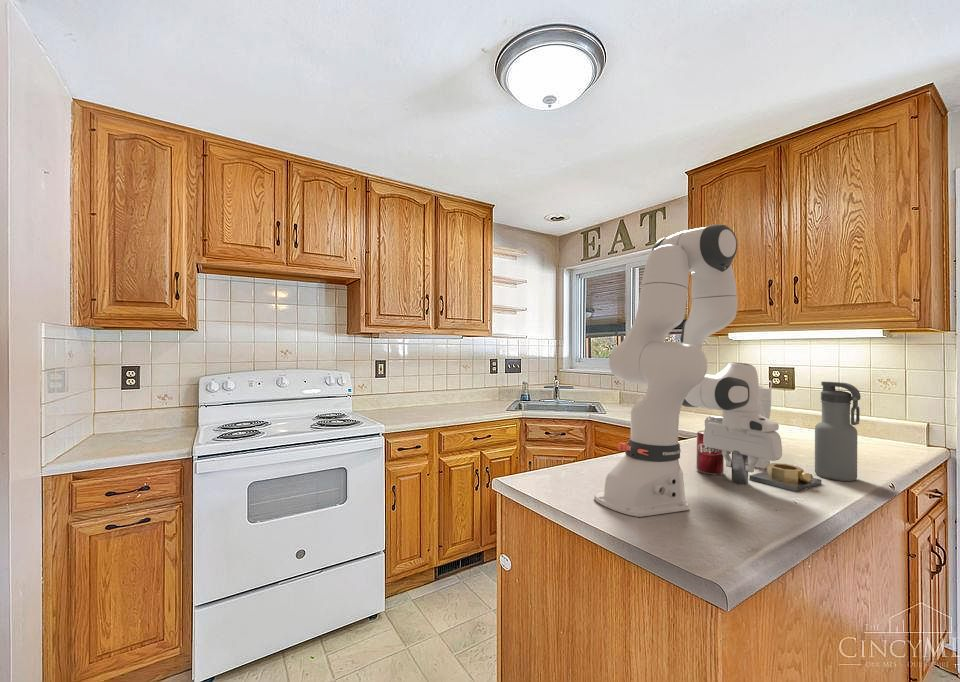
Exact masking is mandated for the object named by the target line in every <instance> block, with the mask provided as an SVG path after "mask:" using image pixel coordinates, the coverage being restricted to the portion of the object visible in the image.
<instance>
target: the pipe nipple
mask: <svg viewBox="0 0 960 682" xmlns="http://www.w3.org/2000/svg"><path fill="white" fill-rule="evenodd" d="M731 460H732V468H731V483H733V484H736V485H737V484H738V485H748V484H749V472H747V471H745V469H746V468H745V465H748V456H747V455H743V454H740V452H739V451H734V450H733V452H731Z"/></svg>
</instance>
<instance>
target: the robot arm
mask: <svg viewBox="0 0 960 682" xmlns="http://www.w3.org/2000/svg"><path fill="white" fill-rule="evenodd" d="M737 251H738V239H737V236H736V234H735V232H734V231H733V230H732V229H731V228H730V227H729V226H728V225H726V224H711V225H710V224H709V225H708V226H705V227H699V228H698V227H697V228H693V229H687V230H683V231H680V232H676V233H675V234H672V235H667V236H664V237H663V238H660V239H659V240H657V241H656V242H655V243H654V244H653V246H652V249H651V251H650V253H649V255H648V258H647V260H646V263H645V267H644V270H643V275H642V279H641V285H640V292H639V293H640V294H639V298H638V299H639V300H638V306H637V312H636V314H635V315H636V316H635V318H634V321H633V324H632V325H631V328H630V329H629V331H628V333H627V335H626V336H625V337H624V338H623V340H622V341H621V342H620V343H619V344H617V346H615V347H614V348H613V349H612V351H611V352H610V355H609V360H608V363H609V368H610V371H611V373H612V376H614V377H616V378H617V379H619V380H622V381H624V382H627V383H629V384H637V385H644V386H645V385H646V386H647V389H646V390H647V391H646V394H645V396H644V397H643V399H642V400H641V401H639V402H637V403H635V404H634V405H633V406H632V407H631V410H630V438H629V439H628V442H627V443H624V442H619V443H618V446H617V449H618V450H619V451H621V452H622V451H624V452H625V454H624V457H623V458H622V459H620V460H619V462H618V463H617V464H616V465H614V467H613V468H612V469H611V470H610V471H608V473H607V474H606V476H605V483H604V490H603V491H600V492H597V493H596V494H594V495H593V499H594V500H595V501H596V502H597V503H598V504H600V505H602V506H603V507H606V508H607V509H610V510H613V511H615V512H618V513H622V514H625V515H628V516H631V517H632V516H633V517H638V518H639V517H641V518H643V517H648V516H654V515H661V514H670V513H677V512H683V511H689V510H690V504H689V503H688V502H687V501H686V493H685V492H686V491H685V481H684V472H683V470H682V468H681V466H680V463H679V459H680V458H681V443H679V425H680V413H681V408H682V406H683V407H685V408H702V409H707V410H708V409H709V410H717V411H721V412H722V413H721V416H714V415H710V416H707V417H706V418H705V420H704V430H703V431H704V436H703V443H704V445H705V446H706V447H710V448H715V449H720V450H722V455H723V457H724V460H725V466H726V467H727V468H731V469H732V456H731V455H732V452H733V450H734V451H739V452H740V454H743V455H747V456H749V460H752V461H751V462H750V464H748V465H745V468H746V469H745V471H747V472H748V473H754V472H755V467H754V466H755V464H756V463H757V462H758V460H759V458H761V459H766V460H770V462H771V461H772V462H775V461H779V460H780V459H781V458H782V456H783V446H782V445H783V443H782V437H781V436H780V434H779V432H777V431H778V430H779V427H780V426H779V423H778V422H776V421H774V420H771V419H770V418H769V419H767V418H765V417H763V416H761V415H759V409H758V406H757V399H758V396H759V385H760V383H759V376H758V371H757V369H756V367H755V366H753V364H749V363H742V362H735V361H733V362H727V363H725V365H724V368H723V369H722V370H720V371H719V372H716V374H707V371H708V360H707V359H708V358H707V357H706V355H705V353H704V351H703V350H702V347H703V346H702V345H703V344H704V342H705V340H706V339H707V338H708V337H709V336H712V335H713V334H715V333H717V332H719V331H721V330H723V329H725V328H726V327H728V326H729V325H730V324H731V323H733V321H735V320H734V319H736V316H737V313H738V296H737V295H738V290H737V283H736V282H737V281H736V277H735V273H734V269H733V266H732V262H733V260H734V259H735V256H736V254H737ZM689 273H690V274H689ZM689 275H691V293H690V294H691V295H690V296H691V297H690V298H691V299H690V300H691V306H690V312H689V314H688V317H687V319H686V320H685V321H684V319H685V317H686V316H685V315H686V309H687V308H686V307H687V298H688V289H689V281H690V280H689V278H690V276H689ZM683 321H684V323H683ZM681 323H683V325H682V329H681V333H680V334H681V335H680V341H665V340H666V338H667V337H668V335H669V334H670V333H671V331H673V330H674V329H675V328H676V327H679V326H680V325H681Z"/></svg>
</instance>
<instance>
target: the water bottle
mask: <svg viewBox="0 0 960 682" xmlns="http://www.w3.org/2000/svg"><path fill="white" fill-rule="evenodd" d="M820 385H821V386H822V389H821V390H822V391H821V392H820V403H821V421H820V422H819V423H816V425H815V426H814V472H815V474H816V475H817V476H819V477H821V478H824V479H828V480H832V481H837V482H838V481H839V482H854V481H856V480H857V478H858V429H856V427H855V426H857V425H859V424H860V414H861V413H860V412H861V410H860V406H859V403H858V401H860V400H861V393H860V391H859V390H858V388H857V387H856V386H855V385H852V384H851V383H847V382H840V381H839V382H838V381H836V382H835V381H821V383H820ZM836 387H837V388H843V389H845V391H843V390H836ZM846 390H847V391H846ZM851 404H852V407H851ZM855 411H856V413H855ZM855 415H856V416H855ZM855 417H856V418H855Z"/></svg>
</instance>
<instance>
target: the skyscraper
mask: <svg viewBox="0 0 960 682" xmlns="http://www.w3.org/2000/svg"><path fill="white" fill-rule="evenodd" d="M766 383H770V384H769V387H764V385H765V384H766ZM772 387H773V381H771V380H769V379H768V380H765V381H764V382H762V384H759V396H758V399H757V406H758V409H759V415H761V416H763V417H765V418H767V419H769V420H770V416H771V410H772ZM751 461H752V460H749V456H748V464H750V462H751ZM770 462H771V461H770V460H766V459H761V458H759V460H758V462H757V463H756V464H755V466H754V469H761V470H767V464H771V463H770Z"/></svg>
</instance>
